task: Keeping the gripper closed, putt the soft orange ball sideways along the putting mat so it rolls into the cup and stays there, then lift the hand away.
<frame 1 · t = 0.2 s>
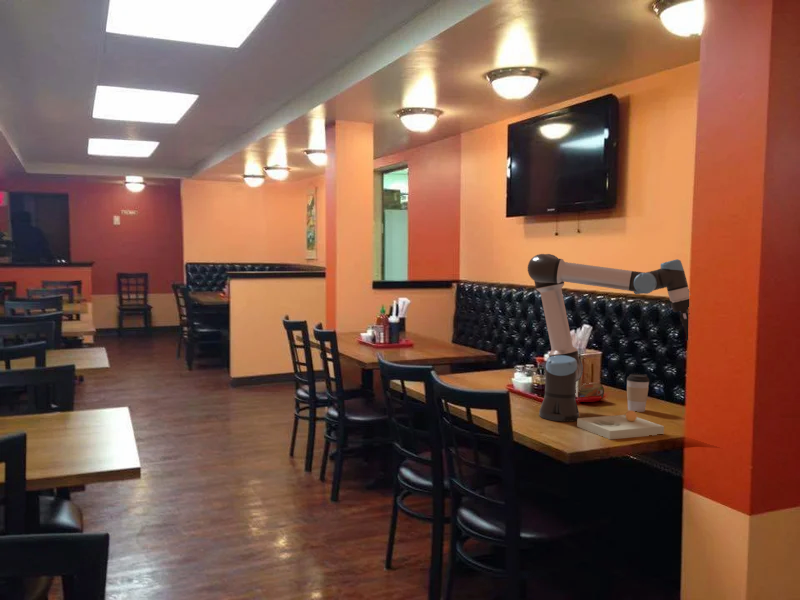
hand: (696, 354, 247), 27 cm above the table, tool tilted 15°, fingers open, 13 cm apart
tin: (589, 402, 285), on the table
coffee cup: (636, 410, 272), on the table
ball: (631, 415, 240), point 5 cm above the table, touching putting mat
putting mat: (619, 430, 238), on the table
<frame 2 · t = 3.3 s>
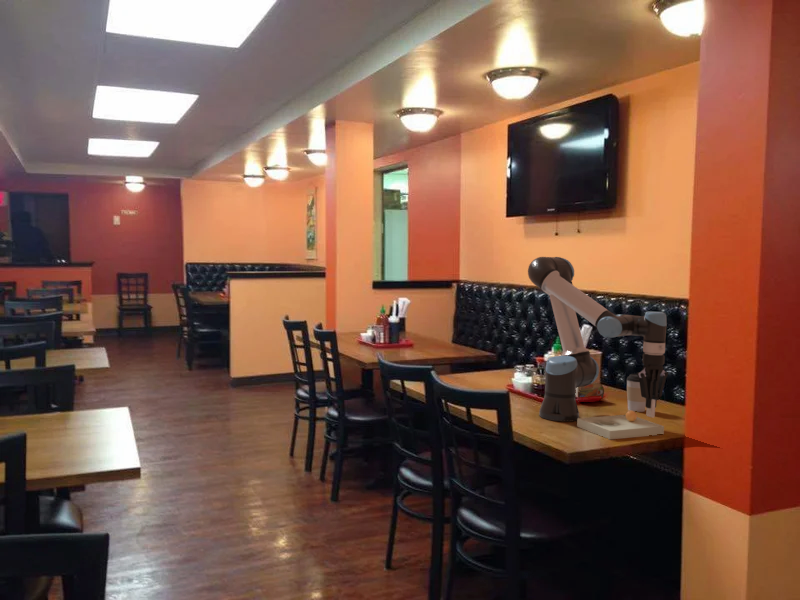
hand: (650, 416, 243), 4 cm above the table, tool pointing down, fingers closed
nothing on the table moved.
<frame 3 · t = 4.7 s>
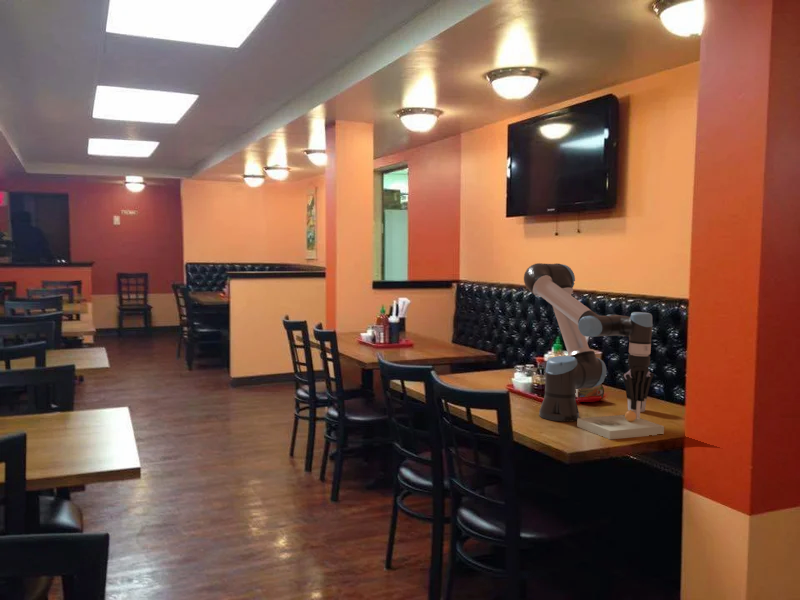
hand: (635, 417, 241), 4 cm above the table, tool pointing down, fingers closed
ball: (630, 416, 239), point 5 cm above the table, tilted 8°, touching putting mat
everything else where it was.
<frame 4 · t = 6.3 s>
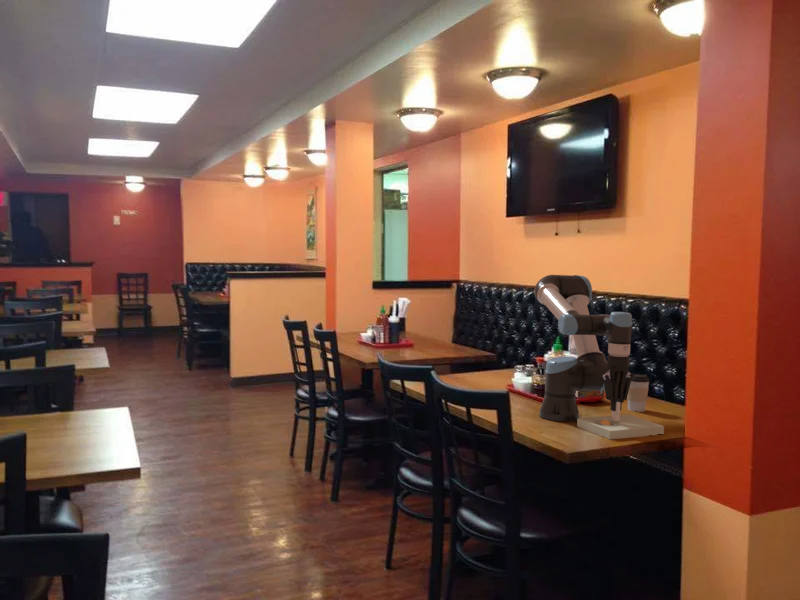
hand: (615, 419, 237), 4 cm above the table, tool pointing down, fingers closed
ball: (604, 425, 236), point 2 cm above the table, tilted 14°, touching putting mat
everything else where it was.
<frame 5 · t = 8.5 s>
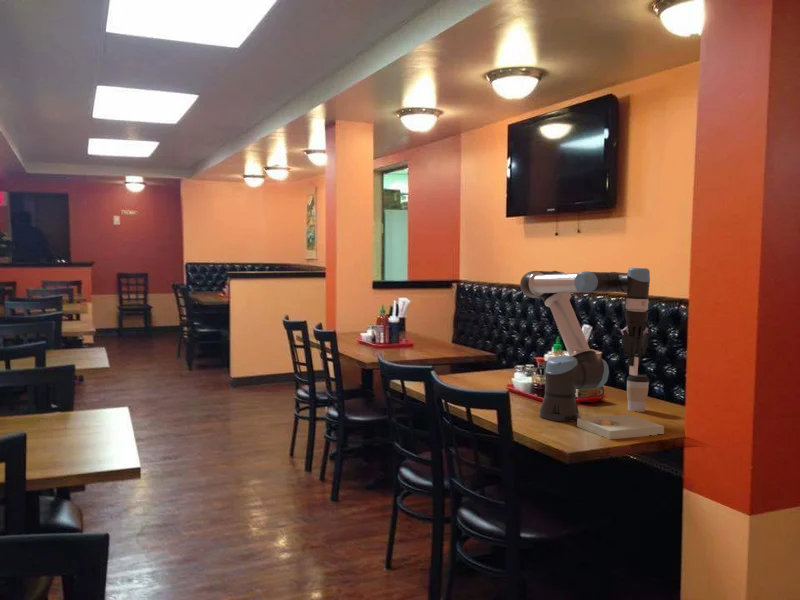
hand: (633, 374, 239), 20 cm above the table, tool pointing down, fingers closed
nothing on the table moved.
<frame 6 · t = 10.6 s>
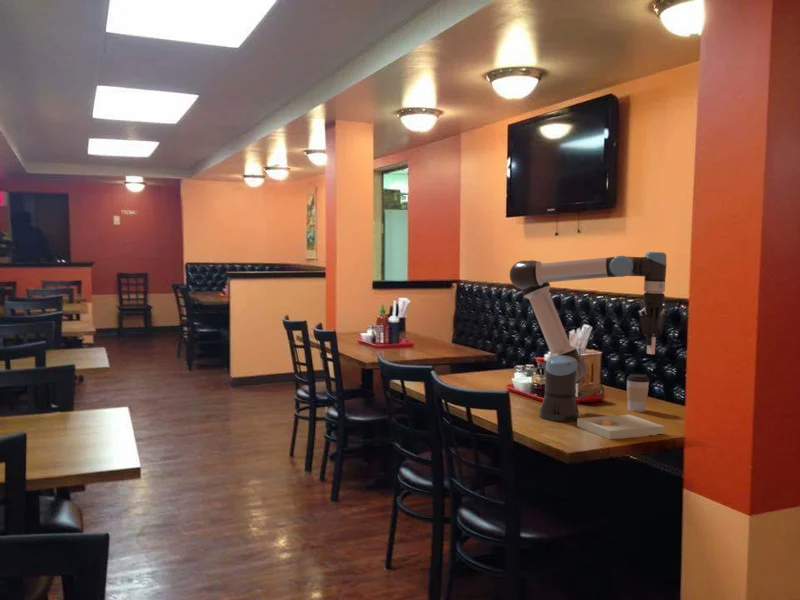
hand: (650, 353, 251), 26 cm above the table, tool pointing down, fingers closed
ball: (606, 425, 236), point 2 cm above the table, tilted 24°, touching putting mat
everything else where it was.
at the end: ball 0.1 cm from the target spot on the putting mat, point 2.2 cm above the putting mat's base; ball moved 11.4 cm from its start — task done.
